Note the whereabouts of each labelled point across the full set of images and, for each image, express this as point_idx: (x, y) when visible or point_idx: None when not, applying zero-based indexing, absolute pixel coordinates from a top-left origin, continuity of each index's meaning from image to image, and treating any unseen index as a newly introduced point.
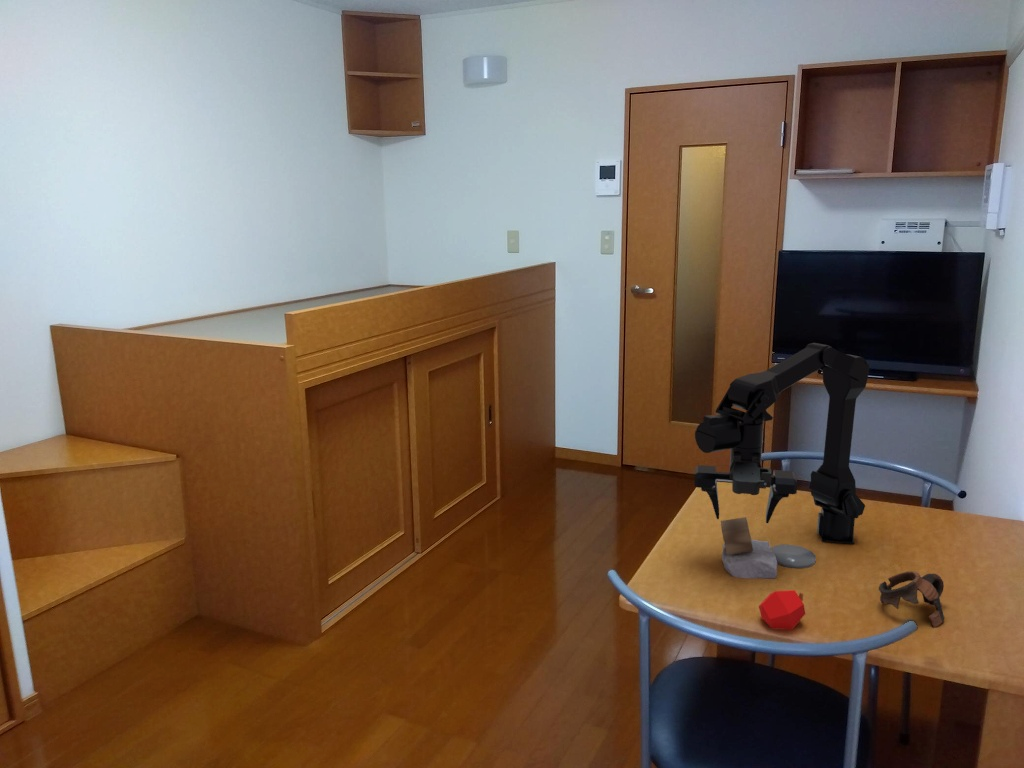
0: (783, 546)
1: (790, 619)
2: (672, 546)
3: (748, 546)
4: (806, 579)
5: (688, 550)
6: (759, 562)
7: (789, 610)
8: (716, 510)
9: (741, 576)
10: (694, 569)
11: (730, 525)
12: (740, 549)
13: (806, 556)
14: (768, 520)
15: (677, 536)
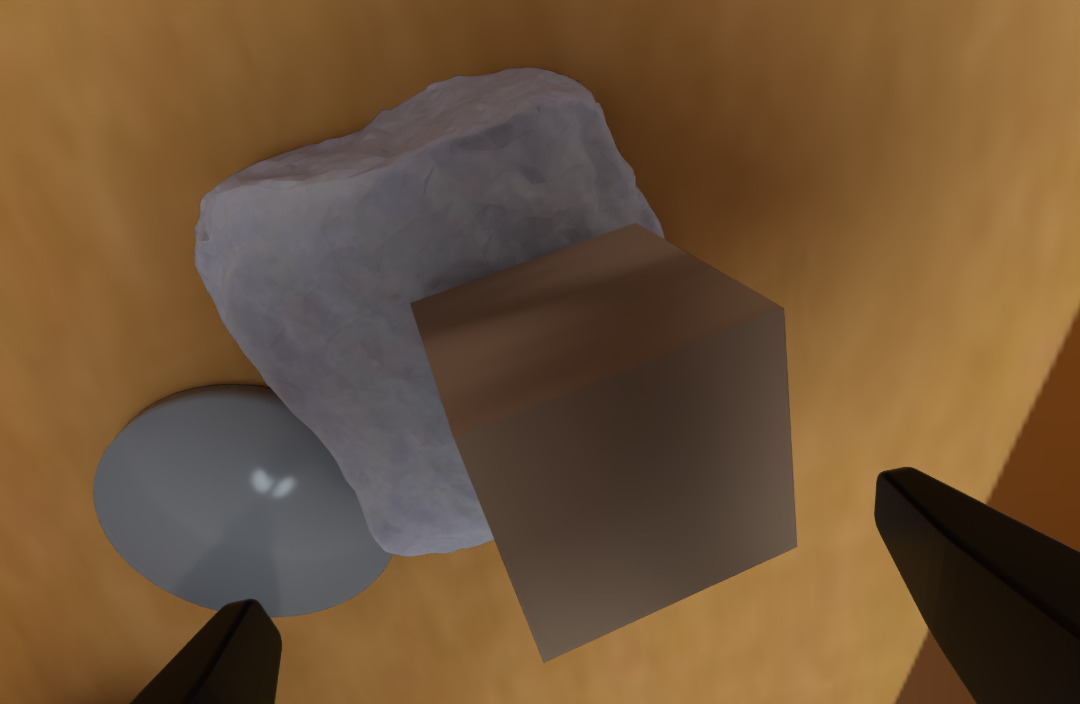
0: (332, 583)
1: None
2: (998, 358)
3: (451, 309)
4: (41, 266)
5: (892, 347)
6: (320, 172)
7: None
8: (1033, 556)
9: (473, 79)
10: (853, 61)
11: (690, 459)
12: (525, 275)
13: (160, 527)
14: (202, 635)
15: None
